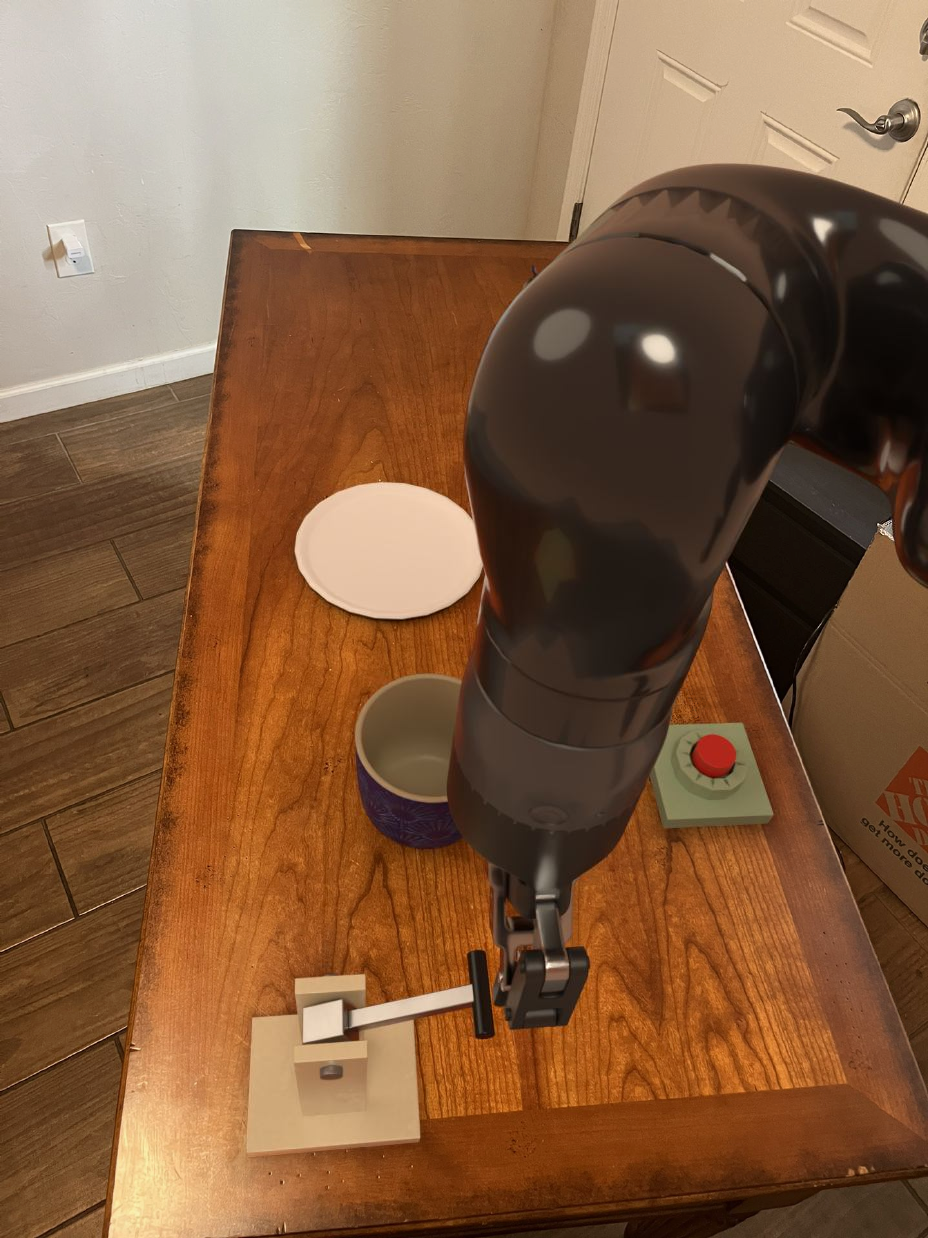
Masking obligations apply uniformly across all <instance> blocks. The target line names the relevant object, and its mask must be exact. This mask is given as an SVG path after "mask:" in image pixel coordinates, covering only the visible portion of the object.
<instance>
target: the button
mask: <svg viewBox="0 0 928 1238" xmlns="http://www.w3.org/2000/svg"><path fill="white" fill-rule="evenodd" d="M692 760H693V763H694V765H695V767H696V768H697V769H698V770H699V771H700V772H701V773H702V774H704V775H706V776H709V777H713V778H718V777H722V776H724V775H726V774H727V773H728V772H729V770H730V769H731V767H732V765H733V764H734V762H735V760H736V750H735V748H734V746H733V745H732V743H731V742H730V741H729V740H727V739H726V738H724V737H722V736H719V735H715V734H710V735H706V736H704V737H702V738H701V739H700V740H699V741H698V743H697V745H696V747H695V749H694V751H693V754H692Z"/></svg>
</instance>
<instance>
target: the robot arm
mask: <svg viewBox="0 0 928 1238" xmlns="http://www.w3.org/2000/svg"><path fill="white" fill-rule="evenodd" d="M537 274H538V275H537V276H536V277H535V278H534V279H533V280H532V281H531V282H530V283H529V284H528V285H527V286H526V287H525V288H524V289H523V288H522V289H521V291H520V292H519V293H518V294H517V295H516V296H515V297H514V298H513V300H512V301H510V303H509V304H508V305H507V306H506V307H505V309H504V311H503V312H502V313H501V315H500V317H499V318H498V320H497V322H496V323H495V324H494V326H493V328H492V330H491V332H490V334H489V336H488V338H487V340H486V343H485V344H484V346H483V349H482V351H481V354H480V357H479V359H478V363H477V365H476V369H475V372H474V375H473V378H472V381H471V386H470V391H469V394H468V398H467V404H466V409H465V415H464V421H463V432H462V462H463V470H464V472H463V473H464V476H465V477H464V479H465V484H466V489H467V495H468V499H469V506H470V510H471V518H472V520H473V522H474V528H475V533H476V539H477V545H478V550H479V553H480V557H481V561H482V564H483V567H482V568H483V571H484V574H485V575H484V580H483V585H482V592H481V596H480V600H479V601H480V602H479V607H478V616H477V622H476V628H475V635H474V642H473V647H472V650H471V653H470V655H469V657H468V660H467V662H466V666H465V668H464V672H463V674H462V677H461V678H462V679H461V680H462V683H461V688H460V693H459V699H458V706H457V713H456V720H455V728H454V735H453V742H452V749H451V756H450V763H449V770H448V777H447V800H448V805H449V809H450V813H451V815H452V818H453V820H454V823H455V825H456V827H457V829H458V830H459V832H460V833H461V835H462V836H463V838H462V839H464V841H465V842H466V843H467V844H468V846H470V848H472V850H473V851H474V852H475V853H477V854H478V855H479V856H480V857H482V858H483V864H484V865H483V867H484V872H485V875H486V878H487V881H488V884H489V895H488V896H489V898H488V899H489V903H488V905H489V906H488V908H489V909H488V925H489V926H488V927H489V930H490V934H491V937H492V940H493V944H494V945H495V946H496V947H497V948H498V949H499V967H498V969H497V973H496V975H495V979H494V982H493V985H492V988H491V993H492V1002H493V1006H494V1007H496V1008H497V1007H498V1008H502V1010H503V1015H504V1020H505V1022H507V1027H508V1029H509V1030H510V1031H514V1030H515V1031H517V1030H529V1029H539V1028H540V1029H541V1028H555V1027H566V1026H567V1027H568V1025H569V1022H570V1020H571V1017H572V1015H573V1014H574V1011H575V1008H576V1006H577V1004H578V1001H579V999H580V997H581V994H582V992H583V990H584V987H585V986H586V982H587V980H588V978H589V970H590V969H591V960H590V956H589V955H588V952H587V949H586V947H585V946H584V945H578V946H566V944H567V943H568V942H569V941H570V940H571V939H572V936H573V917H574V915H573V913H574V890H575V889H574V888H575V885H576V884H577V883H578V881H579V880H580V878H581V876H582V875H584V874H585V873H587V872H588V871H590V870H591V869H593V868H595V866H597V865H599V864H601V862H603V860H604V859H606V858H607V857H608V856H609V855H610V854H611V853H612V852H613V851H614V850H615V848H616V847H617V846H618V844H619V843H620V842H621V840H622V838H623V836H624V834H625V832H626V830H627V827H628V825H629V823H630V821H631V818H632V816H633V814H634V812H635V810H636V807H637V805H638V803H639V800H640V799H641V797H642V794H643V792H644V790H645V788H646V786H647V783H648V781H649V779H650V775H651V772H652V770H653V768H654V766H655V764H656V762H657V759H658V757H659V755H660V753H661V750H662V748H663V745H664V743H665V740H666V737H667V733H668V729H669V725H671V721H672V716H673V715H672V714H673V709H674V707H675V703H676V702H677V699H678V696H679V694H680V692H681V690H682V688H683V685H684V683H685V681H686V678H687V676H688V674H689V672H690V669H691V668H692V665H693V663H694V661H695V658H696V656H697V653H698V651H699V649H700V646H701V644H702V641H703V639H704V636H705V633H706V630H707V627H708V624H709V620H710V618H711V613H712V608H713V601H714V595H715V587H716V584H717V582H718V580H719V578H720V577H721V574H722V572H723V570H724V568H725V567H726V564H727V562H728V560H729V558H730V556H731V554H732V553H733V551H734V548H735V546H736V545H737V543H738V541H739V539H740V537H741V535H742V533H743V531H744V529H745V527H746V525H747V523H748V522H749V519H750V518H751V516H752V513H753V511H754V509H755V507H756V506H757V504H758V502H759V500H760V498H761V496H762V494H763V493H764V492H763V491H765V488H766V487H767V484H768V482H769V480H770V478H771V476H772V475H773V473H774V471H775V469H776V467H777V465H778V463H779V462H780V460H781V458H782V457H783V454H784V452H785V450H786V448H787V447H788V445H789V444H790V445H793V446H796V447H799V448H801V449H803V450H805V451H808V452H810V453H812V454H814V455H816V456H818V457H821V458H822V459H825V460H827V461H828V462H830V463H832V464H834V465H837V466H838V467H840V468H843V469H844V470H846V471H849V472H850V473H852V474H854V475H856V476H858V477H860V478H862V479H864V480H866V481H867V482H869V483H871V484H872V485H874V486H876V487H877V488H878V489H879V490H880V491H882V493H883V494H884V495H885V497H886V498H887V500H888V504H889V506H890V516H891V517H890V518H891V531H892V532H891V533H892V538H893V543H894V548H895V549H894V550H895V553H896V556H897V559H898V561H899V563H900V565H901V566H902V568H903V570H904V572H906V574H907V575H908V576H909V577H910V578H911V579H913V580H914V581H915V582H916V583H918V585H920V586H922V587H923V588H925V589H927V590H928V212H924V211H922V210H920V209H916V208H914V207H911V206H908V205H906V204H904V203H901V202H899V201H896V200H893V199H891V198H889V197H886V196H883V195H880V194H877V193H874V192H872V191H869V190H866V189H864V188H861V187H858V186H855V185H851V184H848V183H846V182H843V181H839V180H837V179H833V178H829V177H826V176H822V175H818V174H815V173H811V172H806V171H802V170H797V169H792V168H786V167H781V166H775V165H774V166H773V165H765V164H753V163H736V162H735V163H732V162H728V163H727V162H723V163H722V162H720V163H719V162H717V163H715V162H714V163H703V164H694V165H688V166H683V167H679V168H674V169H671V170H667V171H664V172H661V173H659V174H656V175H654V176H652V177H650V178H648V179H645V180H644V181H642V182H640V183H638V184H636V185H634V186H633V187H632V188H630V189H628V190H627V191H626V192H624V193H623V194H622V195H621V196H620V197H619V198H617V199H616V200H615V201H614V202H613V203H611V204H610V205H609V206H608V207H607V208H606V209H605V210H603V212H602V213H601V214H600V215H599V216H598V217H597V218H596V219H594V220H593V221H592V222H591V223H590V224H589V226H588V227H587V228H586V229H585V230H584V231H582V232H581V234H579V235H578V236H577V237H576V238H575V239H574V240H573V241H572V242H571V243H570V244H569V245H568V246H567V247H565V249H564V250H562V251H561V252H560V253H559V254H558V255H557V256H556V257H555V258H554V259H553V260H552V261H551V262H550V263H549V264H548V265H546V267H545V268H544V269H542V270H541V271H540V272H539V273H537ZM507 901H508V903H509V904H510V906H511V907H512V908H513V909H514V911H515V912H516V913H517V914H518V915H515V916H509V915H507V914H506V913H507ZM522 947H532V949H521V950H518V949H519V948H522Z"/></svg>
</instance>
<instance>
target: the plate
mask: <svg viewBox="0 0 928 1238" xmlns="http://www.w3.org/2000/svg"><path fill="white" fill-rule="evenodd" d="M294 555H295V559H296V563H297V567H298V571H299V572H300V574H301V575H302V577H303V578H304V580H305V581H306V583H307V585H308V586H309V587H310V588H311V589H312V590H313V591H314V592H315V593H317V594H318V595H319V596H320V597H321V598H323V600H325V601H326V602H327V603H329V604H330V605H333V606H335V607H338V608H339V609H341V610H343V611H345V612H347V613H349V614H353V615H358V616H361V617H366V618H369V619H373V620H391V621H392V620H393V621H404V620H410V619H417V618H422V617H428V616H430V615H432V614H434V613H437V612H441V611H442V610H445V609H447V608H450V607H451V606H453V605H454V604H456V603H457V602H458V601H459V600H461V599H462V598H463V597H465V596H466V595H468V594H469V592H470V591H471V589H472V588H473V587H474V586H475V584H476V583H477V582H478V581H479V579H480V576H481V573H482V570H483V568H484V567H483V564H482V561H481V557H480V553H479V550H478V545H477V539H476V533H475V528H474V522H473V518H472V516H470V515H469V514H468V512H467V511H466V510H465V509H463V507H461V506H459V505H458V504H457V503H456V502H454V501H453V500H451V499H450V498H448V497H447V496H445V495H443V494H441V493H438V492H436V491H434V490H432V489H430V488H428V487H422V486H417V485H414V484H409V483H405V482H391V481H389V482H387V481H378V482H371V483H363V484H358V485H353V486H351V487H348V488H345V489H342V490H339V491H337V492H335V493H333V494H331V495H330V496H328V497H327V498H325V499H323V500H322V501H320V502H318V503H317V504H316V505H315V506H314V507H313V508H312V509H311V510H310V511H309V512H308V513H307V514H306V515H305V516H304V518H303V519H302V522H301V524H300V525H299V528H298V529H297V531H296V536H295V544H294Z"/></svg>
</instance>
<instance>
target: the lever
mask: <svg viewBox="0 0 928 1238" xmlns="http://www.w3.org/2000/svg"><path fill="white" fill-rule="evenodd" d="M466 961H467V970H468V980H469V984H464V985H459V986H455V987H450V988H446V989H441V990H436V991H433V992H428V993H422V994H418V995H413V996H410V997H405V998H400V999H395V1000H391V1001H386V1002H382V1003H378V1004H372V1005H368V1006H365V1007H363V1008H359V1009H358V1008H356V1007H355V1006H353V1005H352V1004H350V1003H348V1002H347V1001H345V1000H344V999H340V1000H335V1001H331V1002H326V1003H322V1004H317V1005H313V1006H308V1007H304V1008H303V1041H302V1043H303V1044H304V1045H308V1044H322V1043H336V1042H350V1041H359V1031H363V1030H368V1029H373V1028H378V1027H382V1026H387V1025H392V1024H396V1023H401V1022H406V1021H410V1020H414V1021H415V1020H419V1019H420V1020H421V1019H424V1018H428V1017H433V1016H438V1015H439V1016H440V1015H443V1014H447V1013H452V1012H457V1011H461V1010H462V1011H463V1010H466V1009H472V1010H471V1011H472V1012H471V1013H472V1022H473V1031H474V1032H473V1033H474V1038H475V1039H476V1040H489V1039H492V1038H494V1037H495V1036H496V1030H495V1022H494V1013H493V1012H494V1011H493V1003H492V995H491V986H490V977H489V967H488V958H487V952H486V950H484V949H473V950H470V951H469V952H467V953H466Z"/></svg>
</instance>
